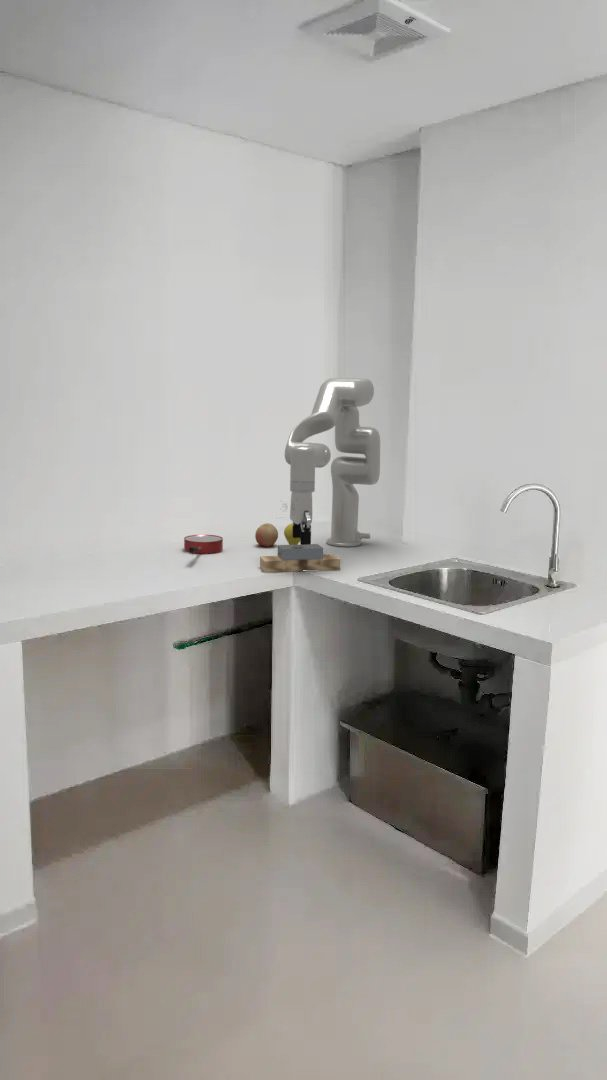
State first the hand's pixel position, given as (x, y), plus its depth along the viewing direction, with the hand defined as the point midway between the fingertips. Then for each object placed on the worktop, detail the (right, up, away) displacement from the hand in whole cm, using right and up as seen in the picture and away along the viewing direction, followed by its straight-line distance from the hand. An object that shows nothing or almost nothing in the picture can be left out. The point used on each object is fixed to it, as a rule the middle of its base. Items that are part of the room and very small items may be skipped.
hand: (301, 540), depth 246 cm
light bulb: (-3, -4, +25) cm, 26 cm away
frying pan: (-33, -5, +15) cm, 36 cm away
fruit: (-12, -2, +34) cm, 36 cm away
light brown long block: (0, -9, +1) cm, 9 cm away
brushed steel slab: (0, -8, +1) cm, 8 cm away
